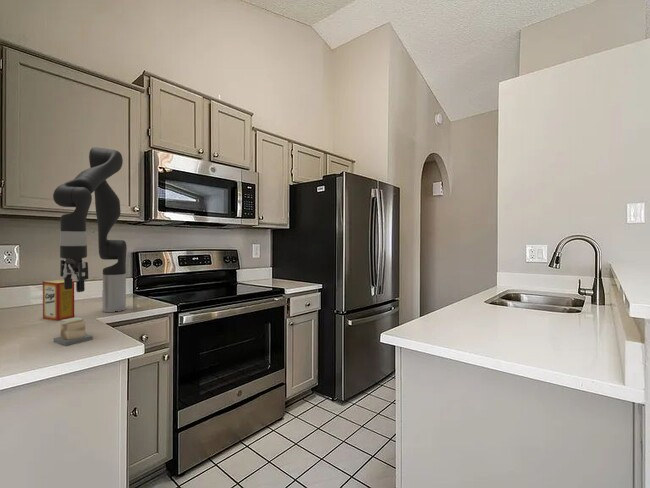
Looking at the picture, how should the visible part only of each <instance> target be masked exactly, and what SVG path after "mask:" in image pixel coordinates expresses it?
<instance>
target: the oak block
mask: <svg viewBox="0 0 650 488" xmlns="http://www.w3.org/2000/svg"><path fill="white" fill-rule="evenodd" d="M85 334H86V321H85V320H84V321H81V320H74V321H69V322H63V323H61V322H60V337H61V338H63V339H66V340H71V339H76V338H80V337H84V336H85Z"/></svg>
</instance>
